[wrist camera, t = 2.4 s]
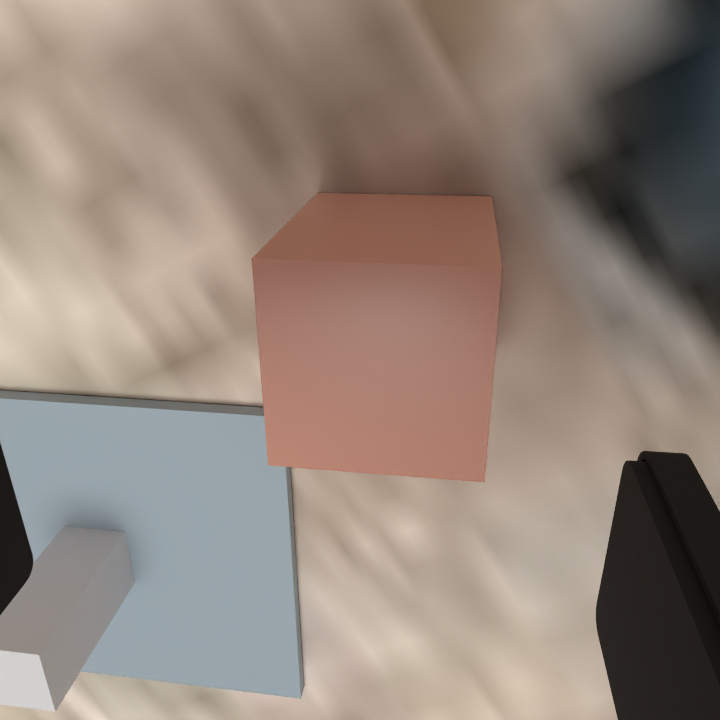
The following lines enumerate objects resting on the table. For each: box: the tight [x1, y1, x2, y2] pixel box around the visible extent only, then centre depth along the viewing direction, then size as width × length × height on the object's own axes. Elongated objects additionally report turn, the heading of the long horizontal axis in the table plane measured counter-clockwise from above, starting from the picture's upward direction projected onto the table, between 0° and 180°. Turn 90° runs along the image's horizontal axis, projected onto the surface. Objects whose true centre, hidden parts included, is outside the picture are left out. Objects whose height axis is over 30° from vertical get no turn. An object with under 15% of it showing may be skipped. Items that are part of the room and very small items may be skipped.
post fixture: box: [0, 390, 304, 711], centre depth 25 cm, size 16×14×7 cm
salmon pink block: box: [252, 193, 502, 482], centre depth 18 cm, size 5×5×7 cm
